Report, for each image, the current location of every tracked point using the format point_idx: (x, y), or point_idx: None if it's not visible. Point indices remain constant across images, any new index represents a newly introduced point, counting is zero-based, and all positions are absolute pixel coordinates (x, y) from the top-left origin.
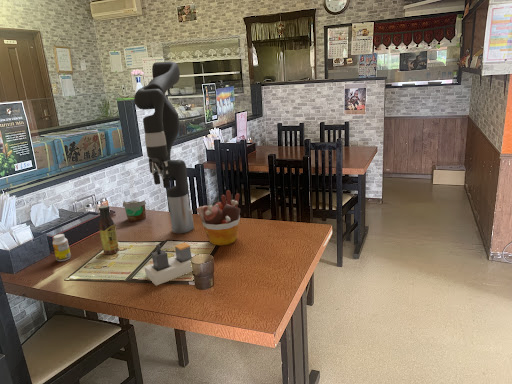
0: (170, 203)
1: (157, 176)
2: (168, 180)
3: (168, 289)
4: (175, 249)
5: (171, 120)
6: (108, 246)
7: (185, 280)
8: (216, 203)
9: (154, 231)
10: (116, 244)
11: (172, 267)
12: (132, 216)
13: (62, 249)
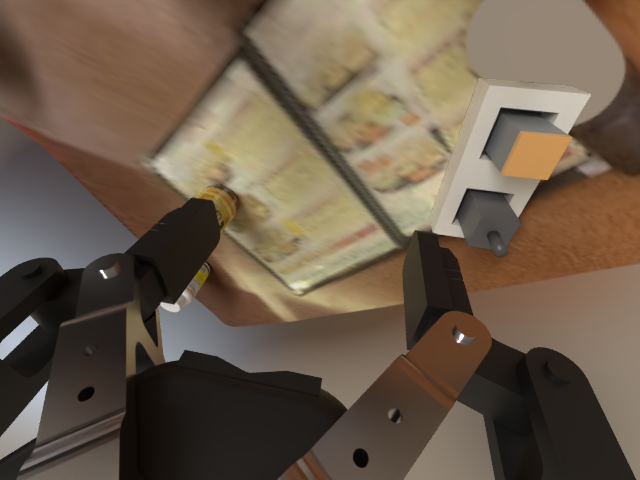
0: None
1: (174, 265)
2: (468, 301)
3: (541, 219)
4: (498, 168)
5: None
6: (229, 221)
7: (560, 170)
8: None
9: (117, 17)
10: (225, 202)
11: (523, 196)
12: None
13: (198, 286)
